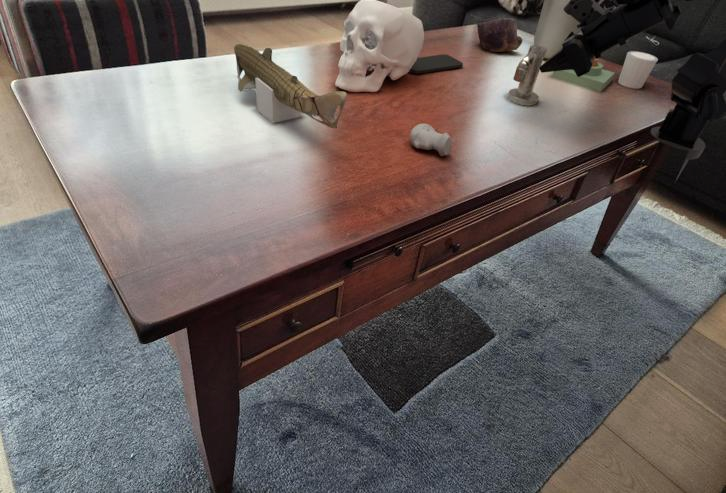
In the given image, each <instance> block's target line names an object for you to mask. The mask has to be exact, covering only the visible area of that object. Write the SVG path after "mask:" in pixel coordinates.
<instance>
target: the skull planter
mask: <svg viewBox="0 0 726 493" xmlns="http://www.w3.org/2000/svg"><path fill="white" fill-rule="evenodd" d="M424 40H425V31H424V26H423V21H422V20H421V19H420V18H418V17H417V16H415V15H414V14H411V13H410V12H407V11H405V10H403V9H401V8H399V7H396V6H394V5H392V4H389V3H386V2H383V1H379V0H359V1H358V2H357V3H356V4H355V6H354V7H353V9H352V10H351V11H350V12H349V14H348V16H347V18H345V20H344V22H343V35H342V37H341V40H340V42H339V50H340V51H341V52H343V53H342V54H341V56H340V59H339V61H338V64H337V67H338V69H339V70H338V72H339V73H338V74H337V77H336V79H335V83H334V85H335V87H336V88H337V87H338V88H339V89H341V90H344V91H347V92H350V93H361V92H363V93H364V92H367V93H368V92H369V93H376V92H378V91H379V90H381V88H382V86H383V83H384V80H385V78H386V77H389V78H390V80H392V81H396V80H399V79H400V78H402V76H403V77H404V76H405V75H407V74H409V72H410V69H411V67H412V66H413V64H414V63H415V61H416V60H417V58H419V56H420V54H421V51H422V50H423V45H424ZM367 71H369V72H371V71H372V73H370V74H369V75H367V76H366V74H367Z"/></svg>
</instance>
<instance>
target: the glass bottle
mask: <svg viewBox="0 0 726 493" xmlns="http://www.w3.org/2000/svg"><path fill="white" fill-rule="evenodd" d="M569 1H570V0H544V1H543V4H542V7H541V11H540V15H539V18H538V22H537V25H536V29H535V33H534V36H533V45H539V46H543V47H545V48H546V49H547V51H546V54H545V57H544V58H543V59H546V60H548V59H550V58H551V57H552V56H553V55H554V54H555V53H557V52H558V51H559V50H560V49H561V48H562V44H563V43H564V41H565V39H566V38H567V36H568V35H569V34H570V33H571V31H573V33H574V35H575V34H577V33H579V32H580V28H577V25H578V23H579V22H578V21H577V20H576V19H575V18H573V17H572V16H571V15H568V14H567V13H566V12H565V11H564V10H563V9H564V7H565V6H566V5H567V4H568V3H569Z"/></svg>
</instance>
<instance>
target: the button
mask: <svg viewBox="0 0 726 493" xmlns="http://www.w3.org/2000/svg"><path fill="white" fill-rule="evenodd" d="M599 60H600V58H598V59H595V61H594V63H593V66H592V67H596V65H597V63H598V62H599Z"/></svg>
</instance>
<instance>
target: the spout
mask: <svg viewBox="0 0 726 493" xmlns="http://www.w3.org/2000/svg"><path fill="white" fill-rule="evenodd" d="M546 51H547V49H546V48H545V47H543V46H539V45H534V44H532V45H530V46H529V48H528V52H527V54H526V55H525V56H523V58H522V59H521V60H520V61H519V62H518V65H517V66H516V69H515V73H514V76H513V81H515V82H517V83H519V82H525V80H526V77H527V73H528V70H529V67H530V66H531V65H532V64H533V63H534V61H535V60H536V59H537V58H539V59H541V58H543V59H545V58H544V57H545V54H546Z"/></svg>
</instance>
